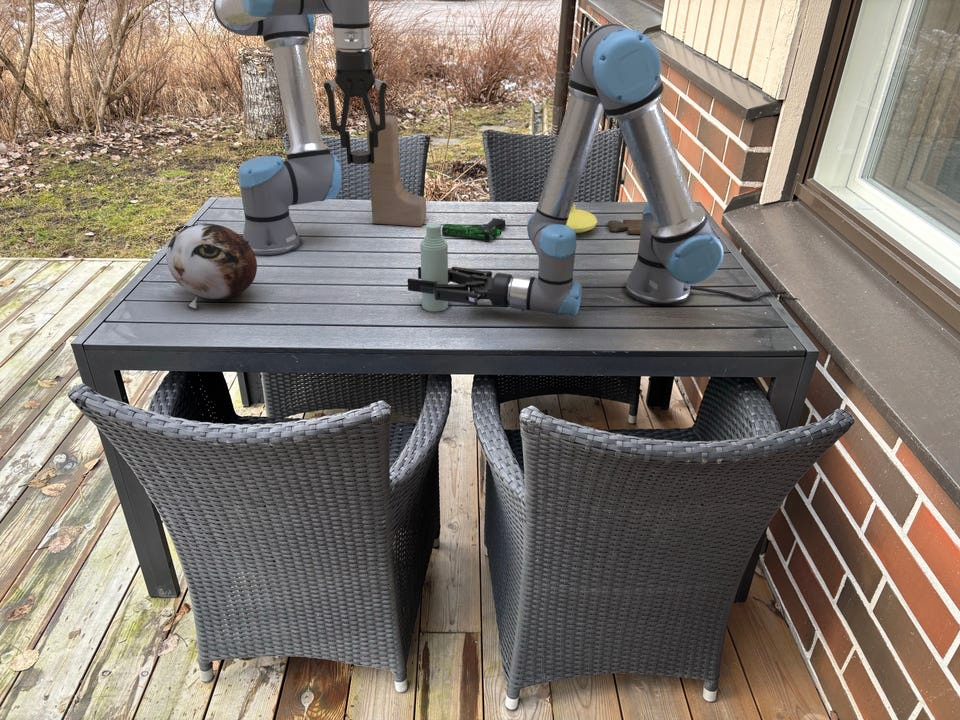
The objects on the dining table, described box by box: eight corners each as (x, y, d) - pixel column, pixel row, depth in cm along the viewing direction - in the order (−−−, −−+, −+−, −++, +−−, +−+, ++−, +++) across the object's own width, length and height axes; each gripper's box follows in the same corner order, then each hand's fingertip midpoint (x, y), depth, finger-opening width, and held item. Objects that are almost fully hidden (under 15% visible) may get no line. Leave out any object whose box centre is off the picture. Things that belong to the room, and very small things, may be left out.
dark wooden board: (699, 237, 207) (691, 225, 216) (700, 231, 206) (692, 220, 215) (610, 234, 207) (606, 222, 216) (611, 228, 207) (607, 217, 215)
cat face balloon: (130, 285, 161) (164, 203, 163) (192, 308, 177) (221, 233, 178) (195, 307, 151) (229, 220, 152) (254, 330, 166) (285, 250, 168)
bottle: (446, 312, 164) (445, 230, 154) (420, 311, 164) (417, 229, 154) (449, 300, 169) (448, 220, 159) (424, 299, 169) (421, 219, 159)
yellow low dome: (559, 216, 220) (561, 193, 217) (605, 227, 212) (608, 204, 209) (532, 230, 209) (533, 207, 206) (580, 242, 201) (582, 218, 198)
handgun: (511, 219, 210) (493, 234, 198) (511, 228, 211) (492, 244, 199) (461, 212, 215) (440, 226, 203) (461, 221, 217) (440, 236, 204)
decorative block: (421, 227, 210) (418, 122, 195) (372, 224, 212) (365, 119, 197) (426, 218, 217) (424, 116, 201) (378, 215, 218) (372, 114, 203)
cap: (362, 157, 163) (362, 149, 162) (375, 161, 160) (374, 152, 159) (347, 161, 160) (346, 152, 159) (359, 165, 157) (358, 156, 156)
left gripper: (308, 52, 144) (320, 167, 156) (395, 52, 146) (400, 166, 158) (312, 46, 151) (323, 158, 163) (395, 47, 152) (400, 157, 164)
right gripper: (500, 325, 153) (399, 311, 158) (519, 289, 169) (427, 277, 174) (501, 293, 149) (397, 280, 155) (521, 259, 165) (426, 248, 170)
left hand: (361, 161), depth 160 cm, fingers closed on cap, 4 cm apart
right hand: (413, 278), depth 164 cm, fingers closed on bottle, 6 cm apart
